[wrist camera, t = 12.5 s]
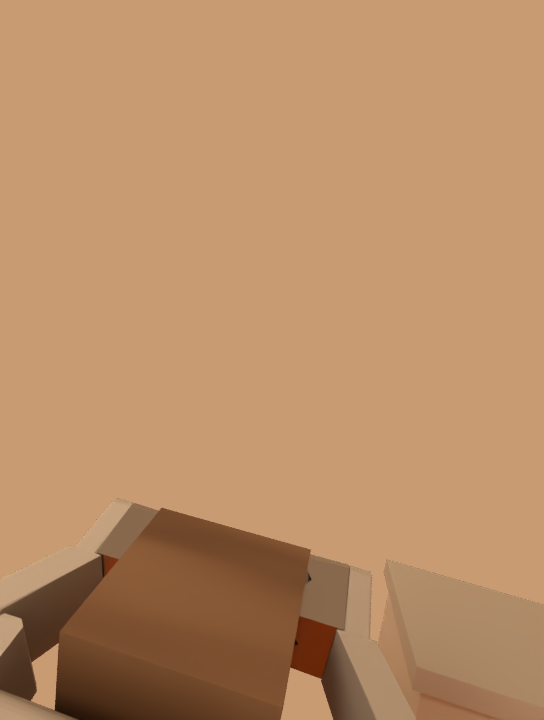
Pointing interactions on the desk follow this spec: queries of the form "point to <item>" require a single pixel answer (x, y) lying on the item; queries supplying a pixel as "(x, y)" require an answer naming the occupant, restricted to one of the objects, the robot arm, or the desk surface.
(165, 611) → the walnut bar
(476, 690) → the stand
